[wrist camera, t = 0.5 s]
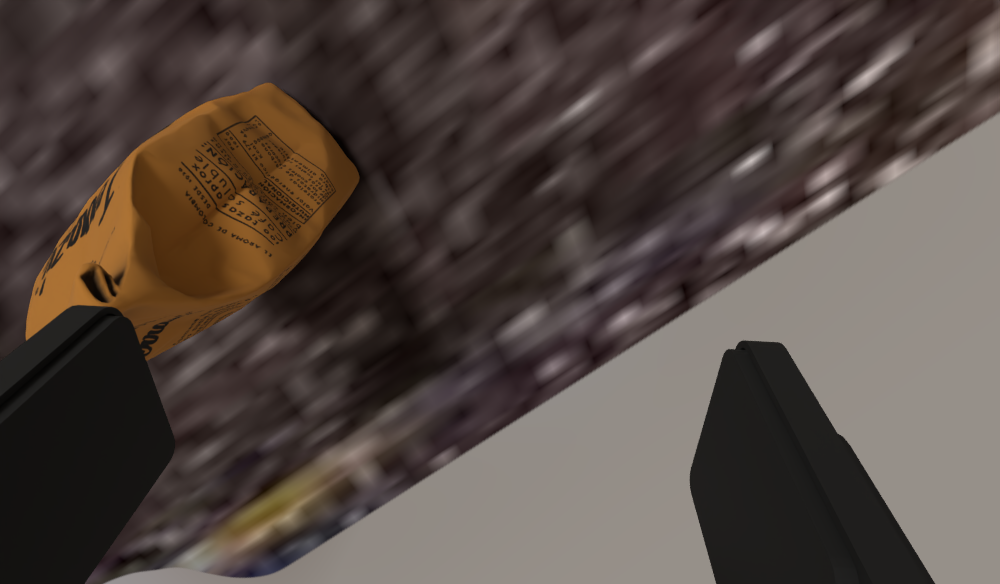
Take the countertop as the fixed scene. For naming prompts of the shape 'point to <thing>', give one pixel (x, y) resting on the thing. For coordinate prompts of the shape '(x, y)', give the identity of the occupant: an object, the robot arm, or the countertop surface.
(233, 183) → the coffee package
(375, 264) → the countertop surface
